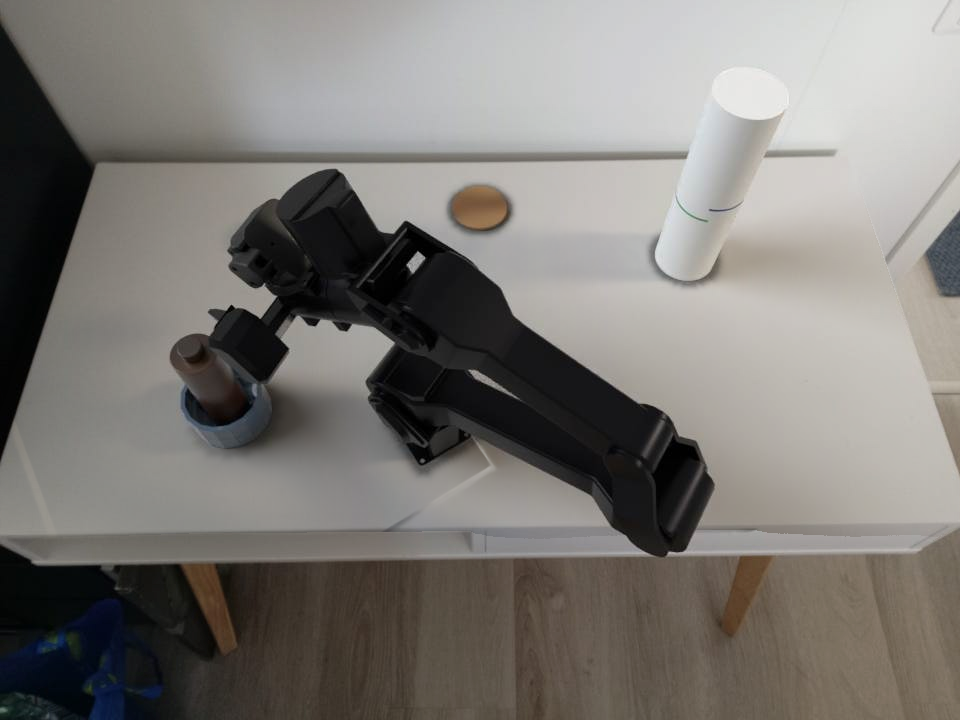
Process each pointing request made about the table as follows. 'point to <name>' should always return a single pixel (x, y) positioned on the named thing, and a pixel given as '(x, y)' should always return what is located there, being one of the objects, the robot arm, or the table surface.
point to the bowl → (239, 429)
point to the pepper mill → (209, 379)
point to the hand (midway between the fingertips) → (240, 277)
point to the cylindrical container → (720, 169)
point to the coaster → (479, 208)
